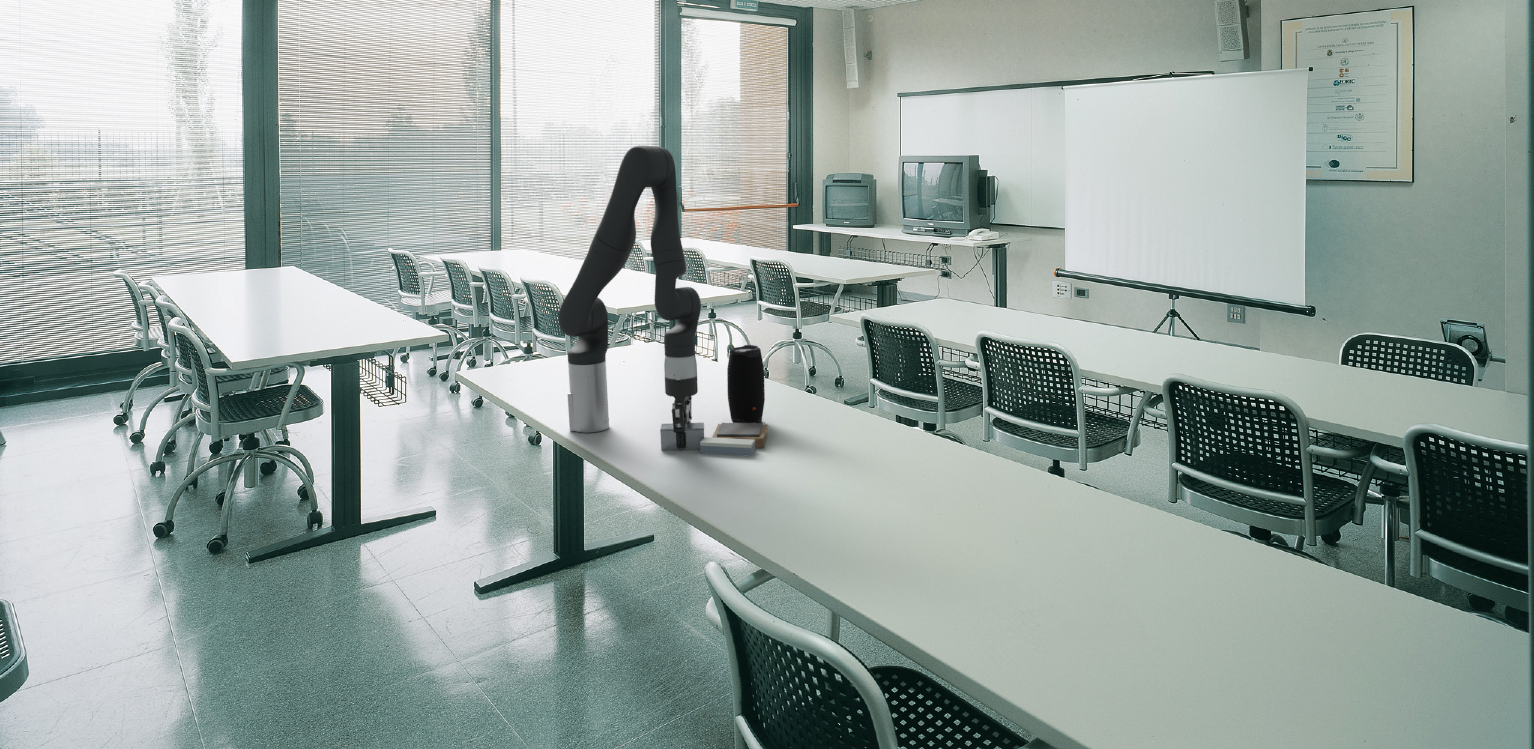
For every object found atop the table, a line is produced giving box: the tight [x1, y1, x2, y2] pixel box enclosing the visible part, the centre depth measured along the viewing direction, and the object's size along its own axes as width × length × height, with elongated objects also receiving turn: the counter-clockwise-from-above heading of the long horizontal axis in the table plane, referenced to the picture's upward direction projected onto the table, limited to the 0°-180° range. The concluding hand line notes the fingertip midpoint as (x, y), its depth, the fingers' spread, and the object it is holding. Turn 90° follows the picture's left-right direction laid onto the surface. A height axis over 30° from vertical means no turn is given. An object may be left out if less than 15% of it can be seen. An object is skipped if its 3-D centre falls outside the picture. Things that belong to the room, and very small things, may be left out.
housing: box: [660, 422, 705, 451], centre depth 224 cm, size 10×5×5 cm, turn 93°
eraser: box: [699, 436, 756, 457], centre depth 219 cm, size 12×4×3 cm, turn 78°
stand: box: [711, 422, 768, 449], centre depth 228 cm, size 12×12×3 cm
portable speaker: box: [726, 344, 766, 423], centre depth 242 cm, size 9×9×20 cm
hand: (683, 444), depth 224 cm, fingers closed on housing, 5 cm apart
